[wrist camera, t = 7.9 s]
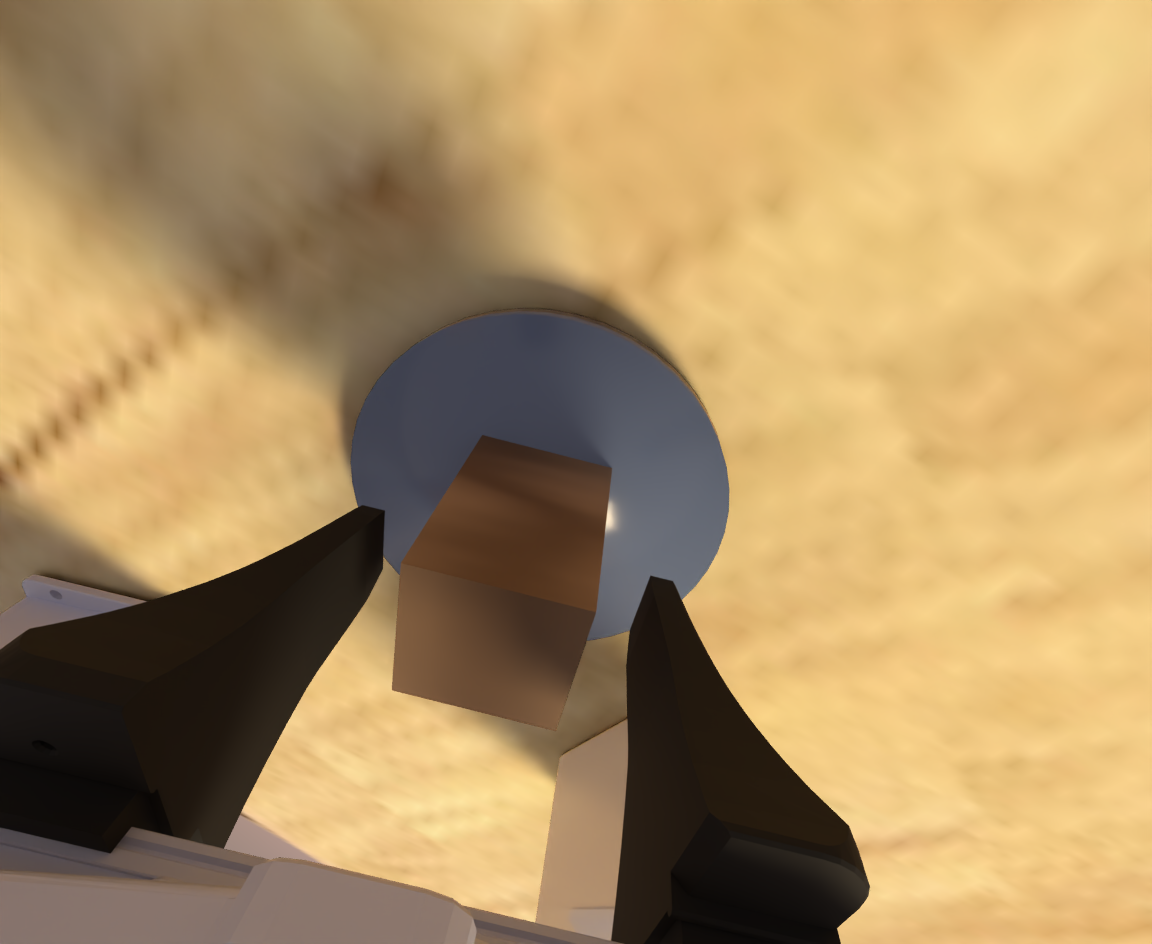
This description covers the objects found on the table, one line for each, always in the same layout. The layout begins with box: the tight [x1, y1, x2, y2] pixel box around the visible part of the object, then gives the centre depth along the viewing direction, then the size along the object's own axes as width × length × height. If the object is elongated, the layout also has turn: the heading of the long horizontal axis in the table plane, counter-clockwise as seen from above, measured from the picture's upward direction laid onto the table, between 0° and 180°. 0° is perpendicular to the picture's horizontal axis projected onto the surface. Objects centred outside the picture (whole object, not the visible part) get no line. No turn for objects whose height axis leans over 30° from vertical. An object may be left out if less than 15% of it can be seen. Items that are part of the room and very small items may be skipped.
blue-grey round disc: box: [351, 308, 729, 641], centre depth 17 cm, size 12×12×1 cm
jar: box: [535, 719, 628, 941], centre depth 19 cm, size 9×8×12 cm
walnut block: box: [392, 435, 612, 731], centre depth 14 cm, size 4×4×6 cm
